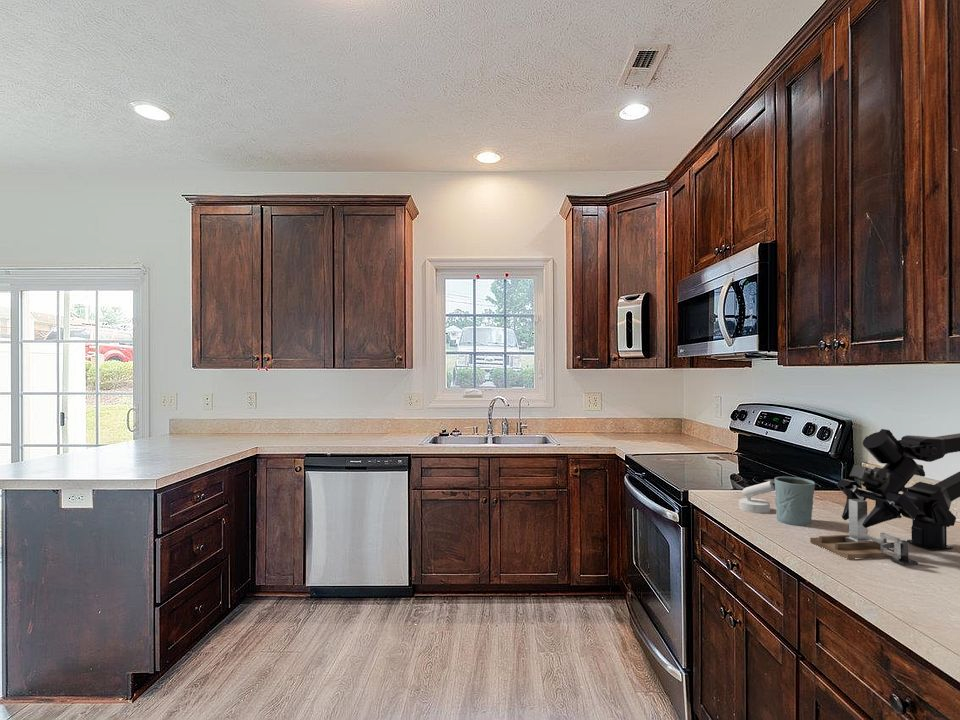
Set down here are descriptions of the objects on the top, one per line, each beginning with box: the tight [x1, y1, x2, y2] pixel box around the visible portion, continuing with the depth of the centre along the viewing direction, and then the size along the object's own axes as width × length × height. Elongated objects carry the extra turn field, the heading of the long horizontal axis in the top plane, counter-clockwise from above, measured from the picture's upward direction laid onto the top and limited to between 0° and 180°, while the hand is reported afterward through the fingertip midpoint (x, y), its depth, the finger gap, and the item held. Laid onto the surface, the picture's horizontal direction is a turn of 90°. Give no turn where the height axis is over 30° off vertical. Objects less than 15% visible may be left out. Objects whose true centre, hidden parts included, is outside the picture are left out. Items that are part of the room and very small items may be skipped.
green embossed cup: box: [774, 476, 816, 527], centre depth 154 cm, size 10×10×12 cm
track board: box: [809, 534, 894, 560], centre depth 131 cm, size 13×12×3 cm
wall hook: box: [738, 480, 776, 514], centre depth 166 cm, size 9×10×10 cm
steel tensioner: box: [845, 499, 901, 559], centre depth 126 cm, size 4×13×10 cm, turn 6°
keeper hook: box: [882, 539, 919, 567], centre depth 122 cm, size 7×4×5 cm, turn 96°
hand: (853, 522), depth 131 cm, fingers open, 6 cm apart
